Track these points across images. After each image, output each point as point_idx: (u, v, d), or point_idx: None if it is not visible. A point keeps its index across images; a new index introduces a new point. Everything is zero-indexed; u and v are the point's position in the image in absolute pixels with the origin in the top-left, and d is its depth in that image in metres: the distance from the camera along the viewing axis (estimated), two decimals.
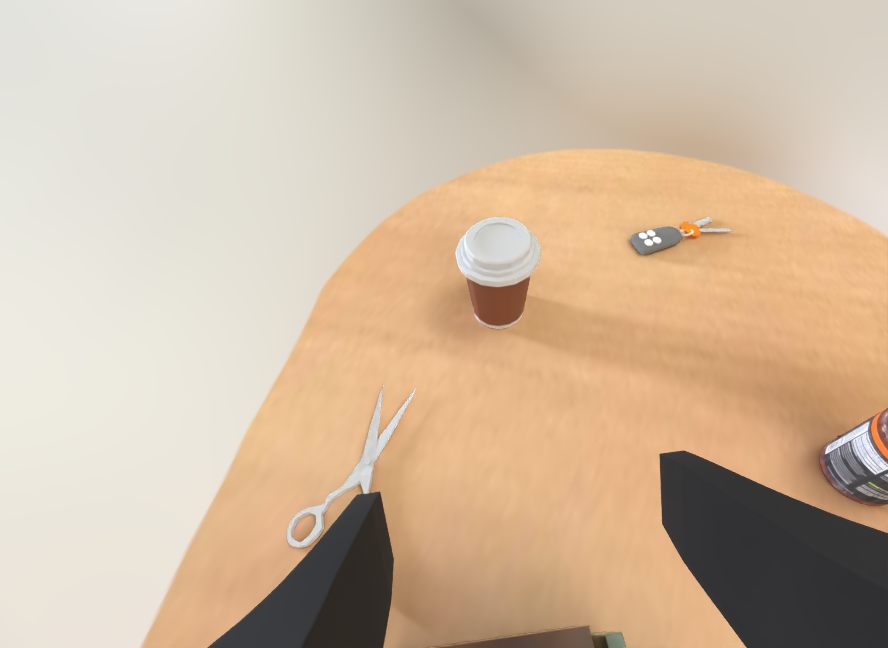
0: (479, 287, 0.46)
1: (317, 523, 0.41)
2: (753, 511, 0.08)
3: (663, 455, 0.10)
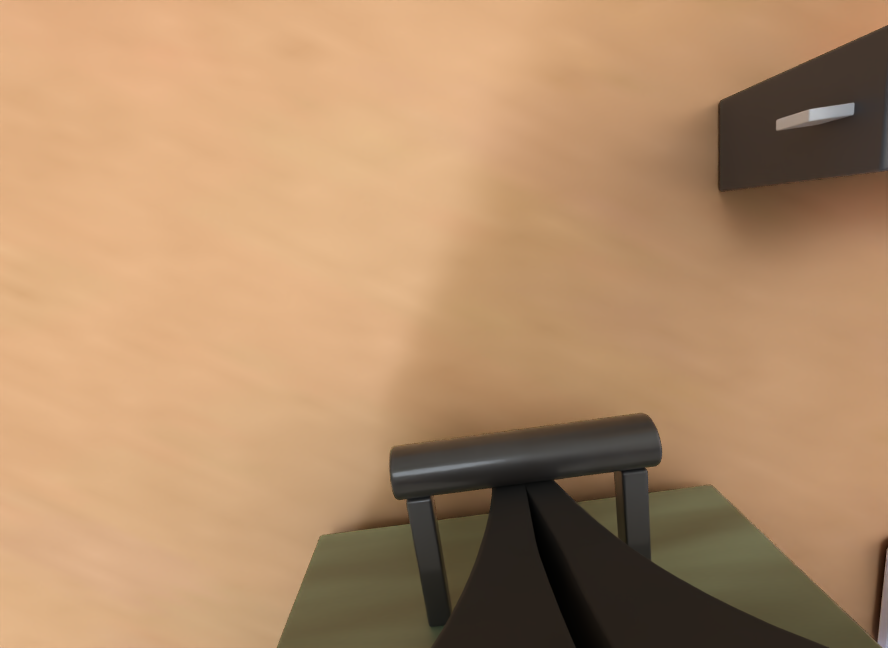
0: None
1: None
2: (558, 537, 0.08)
3: None
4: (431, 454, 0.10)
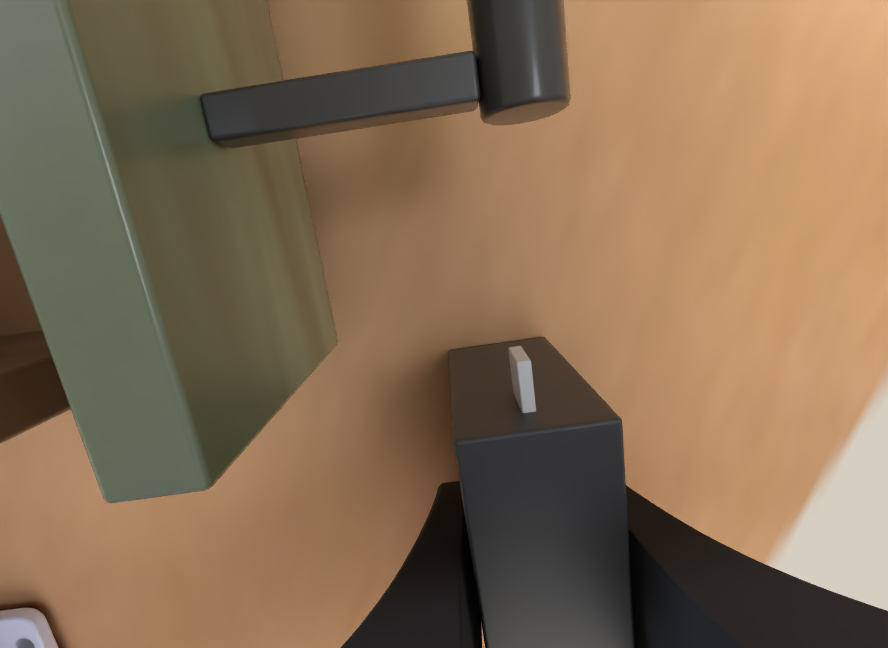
0: None
1: None
2: (629, 527, 0.08)
3: None
4: None
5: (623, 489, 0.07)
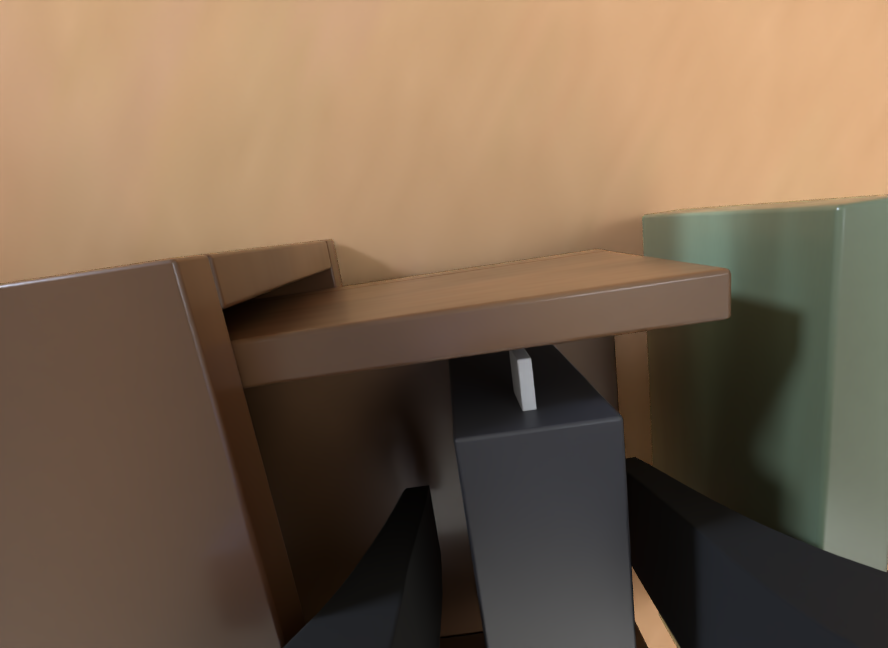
0: None
1: None
2: (686, 520, 0.08)
3: None
4: None
5: (624, 487, 0.07)
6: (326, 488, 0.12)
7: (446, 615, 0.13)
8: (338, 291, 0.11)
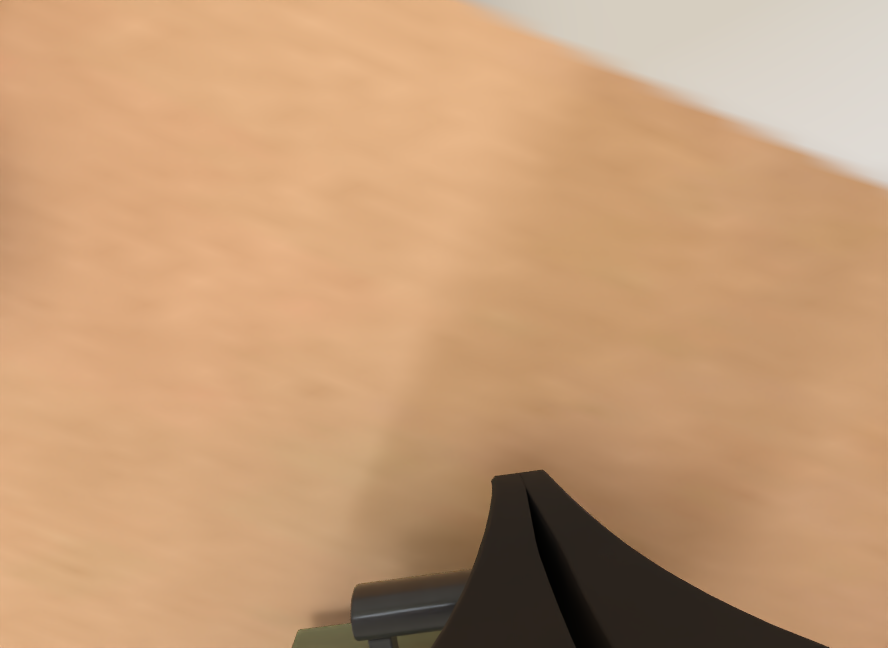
0: None
1: None
2: (558, 537, 0.08)
3: (520, 474, 0.10)
4: (389, 600, 0.10)
5: None
6: None
7: None
8: None
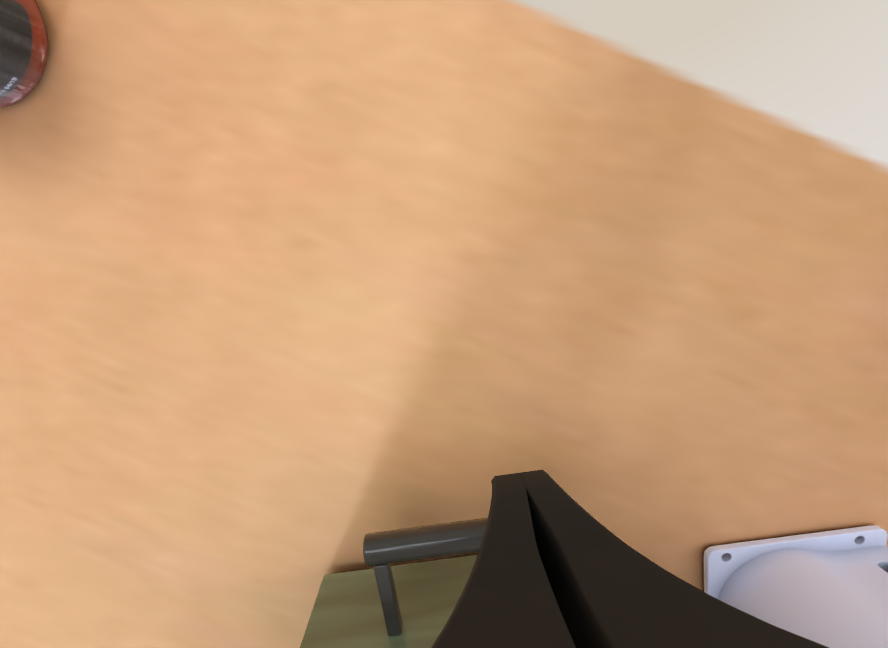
0: None
1: None
2: (558, 537, 0.08)
3: (520, 474, 0.10)
4: (386, 541, 0.17)
5: None
6: None
7: None
8: None
